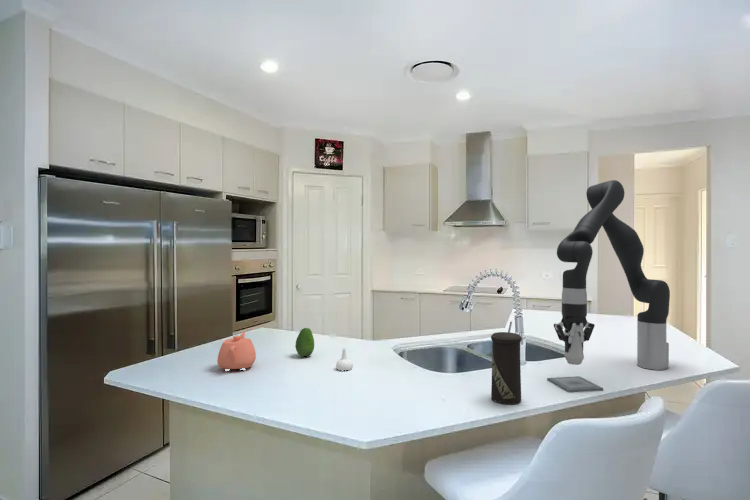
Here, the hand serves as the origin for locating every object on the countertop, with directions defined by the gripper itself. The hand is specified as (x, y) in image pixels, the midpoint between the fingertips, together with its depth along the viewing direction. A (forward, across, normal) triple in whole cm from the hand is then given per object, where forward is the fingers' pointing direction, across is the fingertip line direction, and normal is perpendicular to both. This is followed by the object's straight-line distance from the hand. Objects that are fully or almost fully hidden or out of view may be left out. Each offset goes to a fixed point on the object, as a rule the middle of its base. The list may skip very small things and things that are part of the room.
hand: (573, 353), depth 137 cm
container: (+11, +28, +9) cm, 31 cm away
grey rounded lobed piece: (+3, 0, 0) cm, 3 cm away
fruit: (+11, +89, -49) cm, 102 cm away
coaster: (+10, 0, 0) cm, 10 cm away
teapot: (+11, +114, -37) cm, 120 cm away
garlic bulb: (+11, +74, -29) cm, 80 cm away
